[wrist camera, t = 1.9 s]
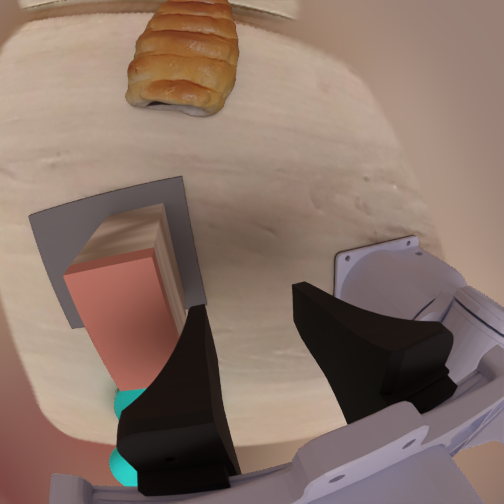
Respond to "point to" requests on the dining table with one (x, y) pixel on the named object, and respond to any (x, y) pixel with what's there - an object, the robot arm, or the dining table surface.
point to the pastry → (185, 58)
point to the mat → (91, 217)
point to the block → (130, 294)
